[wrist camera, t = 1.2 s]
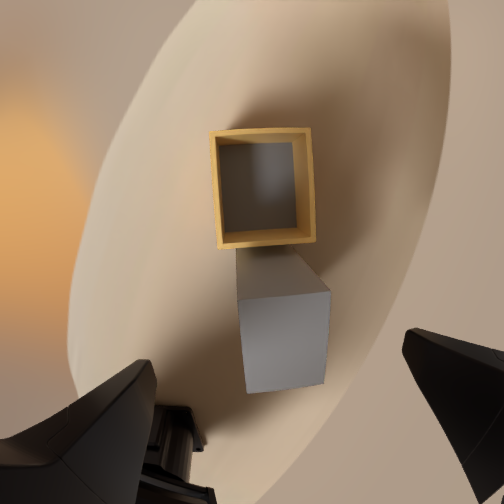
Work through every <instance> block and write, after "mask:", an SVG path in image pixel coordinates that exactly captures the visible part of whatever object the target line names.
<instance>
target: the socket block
mask: <svg viewBox="0 0 504 504" xmlns="http://www.w3.org/2000/svg"><path fill="white" fill-rule="evenodd" d="M209 140H210V157H211V172H212V186H213V200H214V212H215V224H216V236H217V247H218V250H219V249H232V248H245V247H258V246H271V245H285V244H298V243H312V242H316V218H315V190H314V170H313V155H312V141H311V129H310V128H253V129H235V130H221V131H210V132H209Z"/></svg>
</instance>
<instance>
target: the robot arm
mask: <svg viewBox="0 0 504 504" xmlns="http://www.w3.org/2000/svg"><path fill="white" fill-rule="evenodd" d="M402 353H403V356H404V358H405V360H406V362H407V364H408V366H409V368H410V371H411V373H412V375H413V377H414V379H415V381H416V383H417V385H418V387H419V388H420V390H421V392H422V394H423V395H424V397H425V399H426V400H427V402H428V404H429V406H430V407H431V409H432V411H433V412H434V414H435V416H436V418H437V419H438V421H439V423H440V425H441V427H442V428H443V430H444V432H445V434H446V436H447V438H448V440H449V441H450V443H451V445H452V447H453V449H454V451H455V453H456V455H457V457H458V459H459V461H460V463H461V464H462V468H463V470H464V472H465V474H466V476H467V478H468V480H469V482H470V485H471V487H472V489H473V491H474V494H475V496H476V498H477V501H478V503H479V504H482V503H483V502H485V501H486V500H487V499H488V498H489V497H491V496H492V495H493V494H494V493H495V492H497V491H498V490H499V489H500V488H501V487H502V486H503V485H504V351H499V350H496V349H491V348H488V347H484V346H480V345H477V344H473V343H469V342H466V341H462V340H458V339H454V338H451V337H448V336H443V335H440V334H437V333H433V332H430V331H426V330H423V329H419V328H413V329H409V330H407V331H406V333H405V338H404V342H403V346H402ZM156 388H157V379H156V376H155V373H154V369H153V366H152V363H151V361H150V360H148V359H138V360H136V361H135V362H134V363H132V364H131V365H129V366H128V367H126V368H125V369H123V370H122V371H120V372H119V373H117V374H116V375H114V376H113V377H111V378H110V379H108V380H107V381H105V382H104V383H102V384H101V385H99V386H98V387H96V388H95V389H93V390H92V391H90V392H89V393H87V394H86V395H84V396H83V397H81V398H80V399H78V400H77V401H75V402H74V403H72V404H70V405H69V406H68V407H66V408H64V409H63V410H61V411H59V412H58V413H56V414H54V415H53V416H51V417H50V418H48V419H46V420H44V421H42V422H40V423H38V424H36V425H34V426H32V427H30V428H28V429H26V430H24V431H22V432H20V433H18V434H16V435H14V436H12V437H9V438H5V439H0V504H217V501H216V497H215V493H214V489H213V488H210V487H202V486H198V485H194V484H190V483H189V479H190V469H191V460H192V452H202V451H204V445H203V442H202V440H201V437H200V434H199V431H198V428H197V425H196V421H195V418H194V415H193V412H192V410H191V409H190V408H189V407H177V406H155V405H154V404H155V396H156ZM186 412H187V413H186ZM501 504H504V495H503V498H502V502H501Z"/></svg>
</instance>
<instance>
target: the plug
mask: <svg viewBox="0 0 504 504" xmlns="http://www.w3.org/2000/svg"><path fill="white" fill-rule="evenodd" d="M236 273H237V302H238V313H239V323H240V334H241V344H242V354H243V364H244V373H245V382H246V392H247V394H249V393H260V392H270V391H279V390H287V389H294V388H301V387H308V386H314V385H320V384H324V377H325V368H326V358H327V347H328V335H329V321H330V304H331V290H330V289H329V288H328V287H327V286H326V285H325V283H324V282H323V281H322V280H321V279H320V278H319V277H318V276H317V274H316V273H315V272H314V271H313V270H312V269H311V268H310V267H309V265H308V264H307V263H306V262H305V261H304V260H303V259H302V258H301V257H300V255H299V254H298V253H297V252H296V251H295V250H294V249H293V248H292V247H291V245H290V244H285V245H271V246H258V247H245V248H236Z"/></svg>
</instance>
